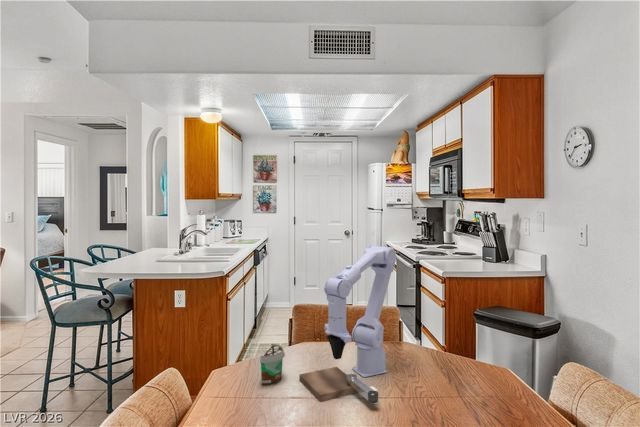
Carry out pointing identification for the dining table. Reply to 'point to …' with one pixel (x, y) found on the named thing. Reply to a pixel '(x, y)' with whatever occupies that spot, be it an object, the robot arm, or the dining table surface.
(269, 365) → the food container
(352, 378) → the folding leg
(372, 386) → the block
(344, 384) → the stool seat
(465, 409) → the dining table surface
